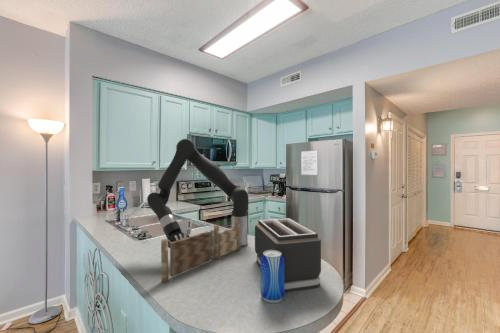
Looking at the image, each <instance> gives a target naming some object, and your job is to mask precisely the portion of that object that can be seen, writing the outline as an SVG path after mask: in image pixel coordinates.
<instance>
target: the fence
mask: <svg viewBox="0 0 500 333" xmlns="http://www.w3.org/2000/svg"><path fill="white" fill-rule="evenodd" d="M213 230H214V260H215V261H218V260H220V257H222V256H224V255H227V254H230V253H231V252H233V251H235V252H239V251H240V250H241V249H240V247H241V246H240V234H239V219H235V227H233V228H232V227H231V228H228V229H224V230H222V231H220V225H219V224H214V225H213ZM160 247H161V248H160V249H161V250H160V253H161V255H160V257H161V258H160V260H161V262H160V263H161V283H162V284H166V283H169V248H168V239H167V238H165V239H161V240H160Z"/></svg>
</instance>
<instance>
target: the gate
mask: <svg viewBox="0 0 500 333" xmlns="http://www.w3.org/2000/svg"><path fill="white" fill-rule="evenodd" d="M169 253H170V254H169V257H170V258H169V260H170V262H169V266H170V267H169V268H170V270H169V271H170V272H169V273H170V274H169V276H170V277H172V278H174V277H176V276H179V275H180V274H182V273H184V272H187V271H189V270H192V269H193V268H197V267H199V266H201V265H203V264H206V263H208V262H210V261H213V260H214V229H213V230H212V229H211V230H210V231H205V232H201V233H198V234H194V235H191V236H190V235H189V237H187V238H183V239H180V240H177V241H174V242H170V248H169Z"/></svg>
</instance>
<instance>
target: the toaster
mask: <svg viewBox="0 0 500 333" xmlns="http://www.w3.org/2000/svg"><path fill="white" fill-rule="evenodd" d="M318 234H319V233H317V232H315V231H314V230H311V229H310V228H308V227H307V226H304V225H303V224H301V223H298V222H297V221H295V220H293V219H292V218H289V217H286V218H273V219H259V220H258V223H257V224H255V226H254V252H255V254H256V263H257V264H258V266H259V268H261V257H262V256H263V252H264V251H267V250H277V251H280V252H281V253H282V257H283V258H284V293H290V292H291V291H292V292H297V291H303V290H312V289H316V288H319V287H320V286H321V277H320V275H321V272H322V238H320V237H318V236H319V235H318Z"/></svg>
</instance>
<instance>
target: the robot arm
mask: <svg viewBox="0 0 500 333" xmlns="http://www.w3.org/2000/svg"><path fill="white" fill-rule="evenodd" d="M175 146H176V147H175V149H176V151H175V153H174V156H173V158H172V160H171V162H170V164H169V165H168V166H167V168H166V170H165V172H164V173H163V174H162V177H161V178H160V180H159V182H158V184H157V187H158V189H159V193H158V192H150V193H149V194H148V195H147V199H146V201H147V205H148V207H149V208H150V209H151V210H152V212H153V213H154V214H155V215H156V217H157V219H158V221H159V224H160V226H161V229H162V232H163V233H164V235H165V237H166V239H168V249H170V242H174V241H177V240H180V239H184V238H187V237H190V234H189V235H184V234H183V233H182V231H181V226H180V223H179V222H178V221H177V219H176V217H175V216H174V214H173V212H172V210H171V209H170V207H169V206H167V204H168V201H169V198H170V194H171V190H172V188H173V187H174V184H175V182H176V180H177V178H178V177H179V174H180V172H181V171H182V168H183V166H184V165H185V163H186V162H187V161H188V162H190V163H191V164H192V165H193V166H194V167H195V168H196V169H197V171H199V172H200V173H201V174H202V176H204V177H205V178H206V180H208V181H209V182H210V183H212V184H214V186H215V187H216V188H219V189H220V190H221V191H222V192H223V193H225V195H226V196H227V197H228V198H229V199H230V200H231V201H232V203H233V208H232V210H231V228H233V227H235V219H239V234H240V247H245V246H248V245H249V243H248V238H249V236H248V235H249V234H248V232H249V230H248V212H249V194H248V191H246V190H245V189H243V188H241V187H238V186H237V185H236V184H234V183H233V182H232V181H231V180H230V179H229V177H228V176H227V174H226V173H225V172H224V171H223V170H222V169H221V168H220V167H219V166H218V165H217V164H216V163H214V162H213V161H212V160H210V159H209V158H207V157H205V156H204V155H203V154H201V153H200V152H199V151H198V150H197V148H196V147H195V144H194V141H193V140H191V139H189V138H183V139H180V140H179V141H178V142H177V143H176V145H175Z"/></svg>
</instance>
